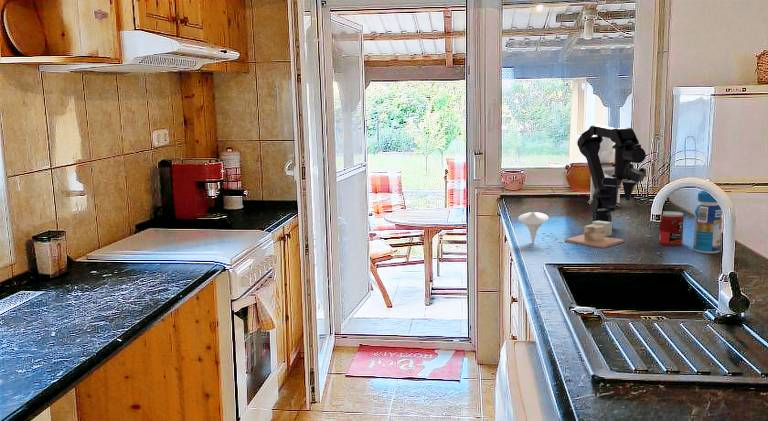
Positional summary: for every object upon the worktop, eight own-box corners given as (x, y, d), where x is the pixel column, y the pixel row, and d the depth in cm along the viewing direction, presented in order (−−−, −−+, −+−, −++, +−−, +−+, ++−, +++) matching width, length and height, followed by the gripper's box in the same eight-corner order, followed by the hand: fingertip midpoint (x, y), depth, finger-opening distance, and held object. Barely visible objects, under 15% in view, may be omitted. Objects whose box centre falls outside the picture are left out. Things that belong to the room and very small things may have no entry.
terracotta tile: (564, 241, 244) (564, 239, 244) (585, 236, 252) (585, 233, 252) (603, 247, 232) (603, 245, 231) (623, 242, 240) (623, 239, 240)
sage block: (591, 234, 255) (592, 221, 254) (597, 233, 257) (598, 220, 256) (606, 236, 250) (606, 223, 249) (611, 235, 253) (612, 222, 252)
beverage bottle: (688, 248, 227) (691, 190, 224) (713, 248, 227) (716, 190, 223) (699, 254, 219) (702, 194, 215) (725, 253, 218) (728, 193, 215)
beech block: (584, 239, 242) (584, 226, 241) (592, 237, 245) (592, 224, 244) (596, 241, 238) (596, 227, 237) (604, 239, 241) (604, 225, 240)
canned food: (672, 247, 230) (673, 215, 228) (653, 243, 237) (654, 212, 235) (687, 244, 233) (688, 213, 232) (668, 240, 240) (669, 210, 239)
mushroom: (546, 246, 236) (546, 213, 234) (515, 244, 240) (516, 212, 238) (549, 240, 246) (550, 208, 244) (520, 239, 250) (520, 207, 248)
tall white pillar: (587, 204, 325) (589, 132, 319) (608, 203, 326) (610, 131, 320) (597, 208, 313) (599, 133, 308) (619, 207, 315) (621, 132, 309)
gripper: (629, 164, 240) (627, 206, 242) (655, 160, 252) (653, 201, 254) (601, 162, 248) (600, 203, 251) (628, 158, 260) (627, 198, 263)
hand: (621, 201), depth 254 cm, fingers open, 9 cm apart
